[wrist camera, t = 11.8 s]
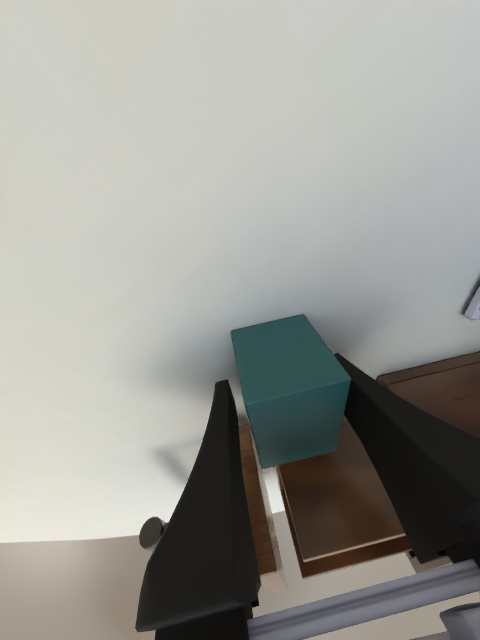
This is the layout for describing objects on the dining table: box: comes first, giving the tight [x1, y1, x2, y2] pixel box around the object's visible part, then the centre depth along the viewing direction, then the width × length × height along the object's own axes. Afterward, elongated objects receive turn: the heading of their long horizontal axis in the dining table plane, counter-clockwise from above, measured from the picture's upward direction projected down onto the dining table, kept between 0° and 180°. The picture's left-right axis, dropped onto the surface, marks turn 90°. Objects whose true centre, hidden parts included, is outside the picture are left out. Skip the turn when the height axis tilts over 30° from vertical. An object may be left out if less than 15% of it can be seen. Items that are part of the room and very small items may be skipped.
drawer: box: [139, 414, 413, 593], centre depth 16 cm, size 22×12×7 cm, turn 100°
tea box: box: [231, 315, 351, 469], centre depth 11 cm, size 6×4×4 cm, turn 10°
